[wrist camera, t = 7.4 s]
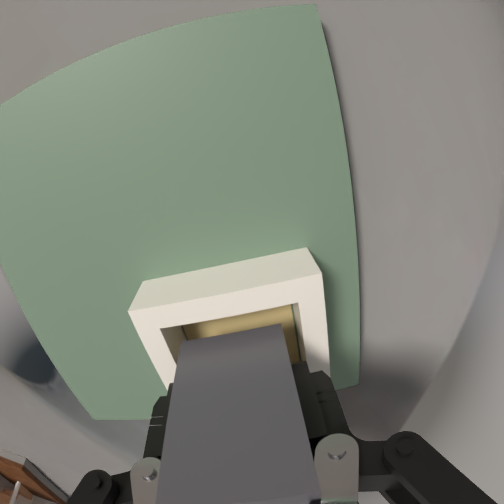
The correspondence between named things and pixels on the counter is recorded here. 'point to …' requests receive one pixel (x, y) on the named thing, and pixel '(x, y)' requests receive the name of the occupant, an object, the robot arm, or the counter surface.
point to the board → (182, 204)
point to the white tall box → (25, 483)
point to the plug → (236, 425)
